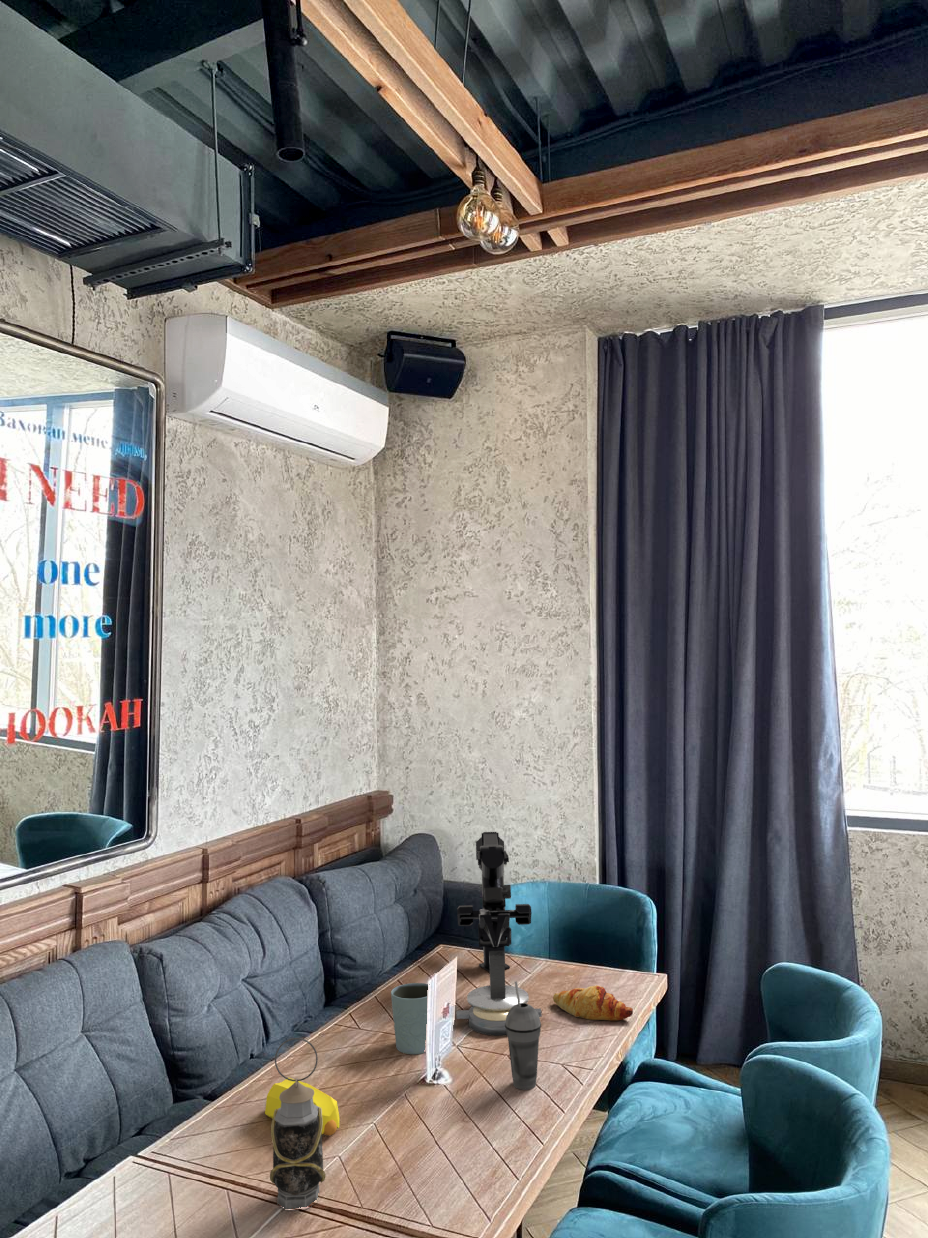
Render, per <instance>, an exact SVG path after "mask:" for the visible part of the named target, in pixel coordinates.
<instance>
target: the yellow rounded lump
mask: <svg viewBox="0 0 928 1238" xmlns="http://www.w3.org/2000/svg"><path fill="white" fill-rule="evenodd" d="M287 1078H289V1079H293V1080H296V1078H292V1077H289V1076H288V1077H287ZM298 1082H299V1083H301V1084H302V1085H304V1086H305V1087H308V1088H311V1089H313V1090H314V1095H313V1104H314V1105H316V1106H318V1107H320V1108H321V1109H322V1119H323V1126H322V1135H325V1136H327V1137H328V1136H333V1135H335V1133H336V1132H337V1129H339V1128H340V1112H339V1107H338V1101H337V1100H336V1099H334V1098H333V1097H332V1096H331V1095H328V1094H327V1093H326V1092H323V1091H321V1090H320V1089H318V1088H316V1087H315V1086H313V1085H311V1084H310V1083H307V1082H303V1081H298ZM294 1083H295V1081H290V1080H287V1079H285V1078H284V1080H282V1081H281V1082H277V1083H276V1082H275V1083H273V1085H272V1086H271V1088H270V1089H269V1091H268V1093H267V1095H266V1102H265V1108H264V1109H265V1110H264V1114H265V1115H266V1116H267V1117H268V1118H270V1119H272V1120H273V1116H274V1111H275V1110H276V1109H279V1108H281V1100H280V1099H279V1096H280V1094H281V1093H282V1092H283V1091H284V1090H286V1089H288V1088H289V1087H290V1086H292V1085H293V1084H294Z"/></svg>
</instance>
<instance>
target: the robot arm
mask: <svg viewBox="0 0 928 1238" xmlns="http://www.w3.org/2000/svg"><path fill="white" fill-rule="evenodd" d="M509 857H510V856H509V854H508V853H507V850H505V841H504V840H503V839H502V838H501V837H500V836H499V832H497V831H484V832H481V837H480V838H478V839H477V841H475V860H476V861H477V865H478V868H479V870H480V871H481V886H482V887H481V893H482V896H481V897H482V898H481V899H482V900H481V901H482V909H479V910H473V909H474V906H473V905H471V904H470V905H459V906H458V907H457V908H456V909H457V910H456V911H457V912H456V913H457V917H456V918H457V926H459V927H470V926H472V925H473V924H474V920H479V923H478V924H477V928H478V930H477V931H478V936H477V937H478V947H479V948H483V962H481V963H479V964H478V966H479V967H480V968H482V969H484V971H487V972H488V973H490V963H489V951H504V961H505V962H506V952H505V947H510V945H512V928H511V927H510V920H511V919H514V921H515V923H516V924H518V925H519V926H523V925H524V926H525V925H531V924H532V906H531V905H530V904H529V903H520V904H519V903H516V904H515V908H514V909H506V905H507V904H506V899H507V900H508V899H510V900H511V898H512V889H511V888H512V886H511V884H505V881H504V872H505V866H506V865H508V863H509V862H510V861H509V860H510V859H509ZM510 968H511V966H510V965H509V964H507V963H505V970H507V969H510Z"/></svg>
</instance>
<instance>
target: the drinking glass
mask: <svg viewBox="0 0 928 1238" xmlns="http://www.w3.org/2000/svg"><path fill="white" fill-rule="evenodd" d="M428 984H429V983H425V982H424V983H423V982H410V983H404V984H401V985H396V987H394V988H392V990H391V991H390V996H391V1007H392V1019H393V1023H394V1025H393V1027H394V1036H395V1037H394V1038H395V1046H396V1051H397V1050H398V1052H400V1053H402V1054H406V1055H421V1054H425V1053H424V1050H425V1040H426V1024H427V990H428Z"/></svg>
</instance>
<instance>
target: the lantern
mask: <svg viewBox="0 0 928 1238" xmlns="http://www.w3.org/2000/svg"><path fill="white" fill-rule="evenodd" d="M293 1040H299V1041H303V1042H306V1043H307V1044H308V1045H310V1046H311V1048H312V1049H313V1051H314V1053H315V1065H314V1067H313V1069H312V1071H311V1072H310V1074H308V1075H307V1076H305V1077H302V1078H298V1077H296V1078H295V1080H293V1079H294V1078H292V1079H289V1078H290V1077H289V1078H288V1077H287V1076H285V1075H284V1074H283V1073H282V1072H281V1071H280V1069H279V1068H278V1065H277V1064H278V1063H277V1056H278V1053H279V1051H280V1049H281V1048H282V1046H284V1045H285V1044H286V1043H287V1042H291V1041H293ZM318 1061H319V1058H318V1052H317V1050H316V1047H315V1046H314V1045H313V1044H312V1043H311V1042H310V1041H308V1040H307V1039H304V1038H302V1037H301V1038H300V1037H292V1038H289V1039H286V1040H285V1041H283V1042H282V1043H281V1044H280V1045H279V1046H278V1048H277V1050H276V1052H275V1056H274V1065H275V1069H276V1070H277V1072H278V1074H279V1075H280V1076H281V1077H282V1078H283V1079H284V1080H285V1079H287V1080H290V1081H295V1083H294V1084H293V1085H292V1086H290V1087H289V1088H288V1089H286V1090H284V1091H283V1092H282V1093H281V1094H280V1096H279V1099H280V1100H281V1108H279V1109H276V1110H275V1111H274V1116H273V1119H272V1120H271V1126H270V1136H271V1142H272V1146H273V1147H272V1149H273V1150H272V1169H271V1170H270V1172H269V1180H270V1182H271V1183H272V1184H273V1185H275V1187H276V1188H277V1193H278V1194H277V1205H278V1204H279V1205H281V1206H282V1207H284V1209H292V1208H293V1209H295V1208H299V1207H300V1208H301V1207H307V1206H309V1205H310V1204H311V1203H312V1202H314V1201H315V1200H317V1198H318V1199H319V1197H318V1193H319V1194H320V1183H323V1182H325V1180H326V1172H325V1171H324V1155H323V1134H322V1126H323V1119H322V1109H321V1108H320V1107H318V1106H316V1105H314V1104H313V1095H314V1090H313V1089H311V1088H308V1087H305V1086H304V1085H302V1084H301V1083H299V1082H298V1081H301V1082H303V1081H305V1080H306V1079H308V1078H310V1077H311V1076H312V1074H314V1073H315V1070H316V1069H317V1067H318V1063H319V1062H318ZM284 1209H283V1210H284Z"/></svg>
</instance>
